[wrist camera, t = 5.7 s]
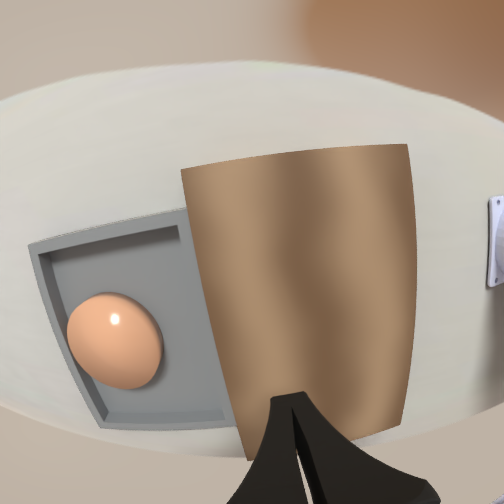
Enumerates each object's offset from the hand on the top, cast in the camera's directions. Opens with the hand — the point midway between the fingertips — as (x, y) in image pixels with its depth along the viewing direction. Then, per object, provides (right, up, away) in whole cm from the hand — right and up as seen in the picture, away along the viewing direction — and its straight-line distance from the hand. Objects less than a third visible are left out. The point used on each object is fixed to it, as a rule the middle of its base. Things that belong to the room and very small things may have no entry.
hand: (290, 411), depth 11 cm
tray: (-10, 0, +9) cm, 13 cm away
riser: (+2, +2, +9) cm, 10 cm away
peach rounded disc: (-11, 0, +7) cm, 13 cm away
